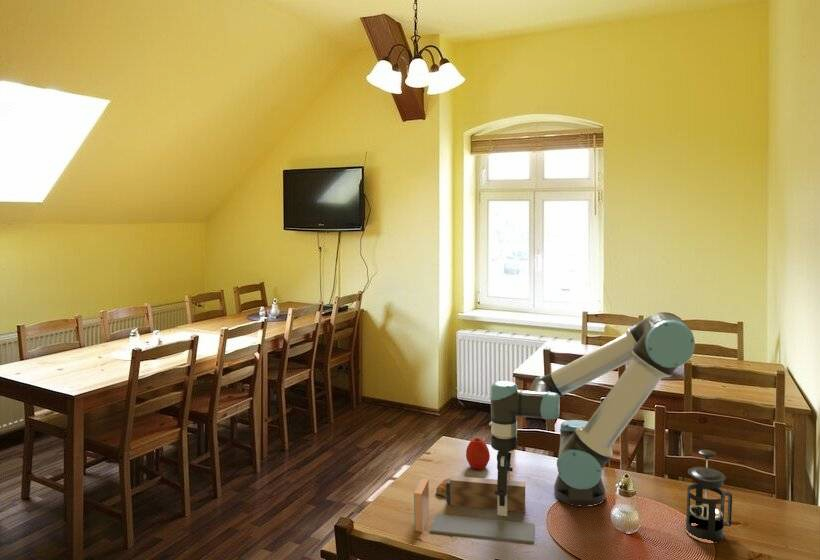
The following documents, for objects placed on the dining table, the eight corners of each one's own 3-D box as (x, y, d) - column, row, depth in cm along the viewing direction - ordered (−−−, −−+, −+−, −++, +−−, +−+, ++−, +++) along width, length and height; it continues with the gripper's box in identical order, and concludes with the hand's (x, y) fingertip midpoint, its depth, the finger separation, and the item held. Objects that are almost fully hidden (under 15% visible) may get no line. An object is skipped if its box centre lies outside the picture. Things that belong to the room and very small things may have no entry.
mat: (534, 525, 163) (534, 523, 162) (533, 543, 154) (533, 541, 154) (436, 515, 169) (435, 513, 169) (429, 532, 160) (429, 530, 160)
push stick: (525, 507, 173) (525, 481, 172) (524, 513, 170) (524, 486, 169) (448, 500, 178) (447, 475, 178) (446, 505, 175) (446, 479, 174)
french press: (689, 543, 152) (692, 458, 150) (677, 524, 162) (679, 444, 159) (737, 544, 151) (740, 459, 148) (722, 525, 160) (725, 445, 158)
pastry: (445, 500, 178) (445, 488, 178) (430, 492, 184) (430, 481, 183) (467, 490, 185) (466, 478, 184) (452, 483, 190) (451, 472, 189)
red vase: (463, 463, 204) (463, 433, 203) (486, 461, 205) (486, 432, 204) (468, 473, 196) (468, 442, 195) (492, 471, 197) (492, 441, 196)
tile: (429, 515, 170) (428, 479, 168) (422, 531, 161) (421, 493, 160) (421, 514, 170) (420, 478, 169) (414, 530, 161) (413, 492, 160)
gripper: (494, 418, 183) (495, 483, 186) (486, 450, 159) (487, 523, 162) (519, 420, 181) (519, 485, 184) (514, 452, 157) (514, 526, 160)
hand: (504, 503), depth 173 cm, fingers open, 13 cm apart
